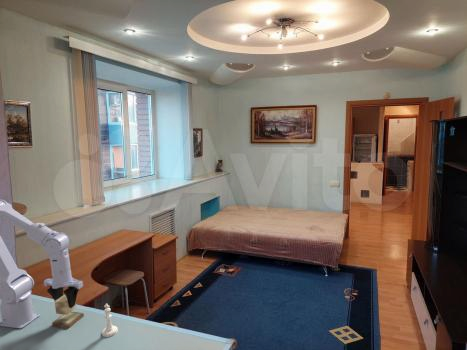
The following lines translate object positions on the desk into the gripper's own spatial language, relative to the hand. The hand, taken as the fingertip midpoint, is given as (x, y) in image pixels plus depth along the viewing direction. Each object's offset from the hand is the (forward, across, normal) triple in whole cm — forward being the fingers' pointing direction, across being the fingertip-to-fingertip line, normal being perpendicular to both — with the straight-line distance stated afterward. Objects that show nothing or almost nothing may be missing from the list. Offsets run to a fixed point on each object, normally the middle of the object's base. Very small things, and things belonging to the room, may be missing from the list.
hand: (66, 305), depth 111 cm
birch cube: (+2, 0, 0) cm, 2 cm away
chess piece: (+6, +19, -3) cm, 20 cm away
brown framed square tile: (+6, 0, 0) cm, 6 cm away
